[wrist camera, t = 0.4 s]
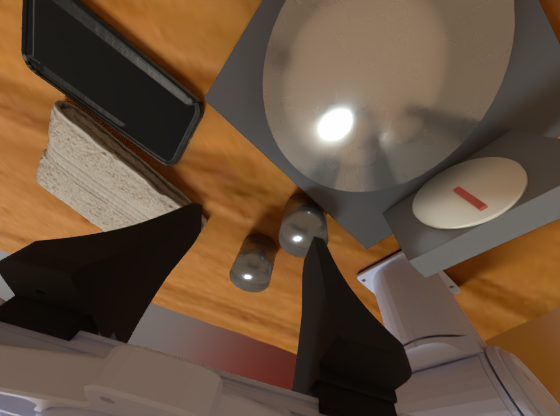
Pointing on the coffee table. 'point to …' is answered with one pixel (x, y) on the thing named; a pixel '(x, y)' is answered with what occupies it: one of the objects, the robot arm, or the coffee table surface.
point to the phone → (109, 77)
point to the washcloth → (102, 173)
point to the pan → (381, 84)
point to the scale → (447, 174)
